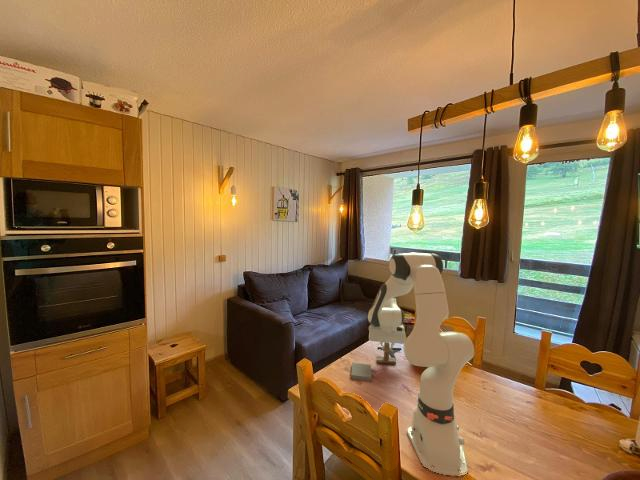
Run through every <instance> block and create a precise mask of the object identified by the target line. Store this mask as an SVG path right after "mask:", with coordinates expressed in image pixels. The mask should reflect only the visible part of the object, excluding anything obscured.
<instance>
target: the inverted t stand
mask: <svg viewBox="0 0 640 480" xmlns="http://www.w3.org/2000/svg"><path fill="white" fill-rule="evenodd" d="M383 345H384V346H385V350H384V351H383V356H379V355H378V356H376V362H377V363H379V364H389V365H397V361H396V360H397V359H396V360H395V358H396V357H395V358H392V356H390V354H389V346H390V343H387V342H383Z"/></svg>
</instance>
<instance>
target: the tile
mask: <svg viewBox="0 0 640 480" xmlns="http://www.w3.org/2000/svg"><path fill="white" fill-rule="evenodd" d="M351 364H352V365H351V371H350V373H351V374H350V375H351V377H350V379H351V380H360V381H368V382H372V365H371V364H368V363H360V362H352V363H351Z"/></svg>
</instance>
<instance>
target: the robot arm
mask: <svg viewBox="0 0 640 480" xmlns="http://www.w3.org/2000/svg"><path fill="white" fill-rule="evenodd" d="M388 262H389V263H388V268H389V273H390V277H389V278H388V280H386V282H385V283H383V284H382V285H380V287H379V289H378V291H377V294H376V296H375V298H374V301H373V303H372V305H371V307H370V309H369V310H368V315H367V320H368V323H369V324H370V325H369V326H368V331H369V333H368V340H369V341H370V342H375V343H379V344H380V347H382V349H383V350H385V346H384V342H387V343H389V344H391V345H389V350H392V348H394V346H395V344H399V345H403V347H402V348H403V349H402V350H403V354H404V357H405V358H406V360H407V361H408V362H409V363H410V364H411V365H412V366H417V367H423V368H424V367H425V368H426V369H425V370H424V371H423V372H422V373H421V375H420V379H419V393H418V396H417V407H416V408H415V409H414V410H413V411H412V417H411V418H412V419H411V426H410V427H408V428H407V429H406V434H407V435H408V439H409V441H410V443H411V444H412V447H413V448H414V449H413V450H414V451H415V453H416V455H417V457H418V459H419V461H420V463H422V464H423V465H422V464H421V465H422V467H423V466H424V467H426V468H428V469H430V470H431V471H430V470H429V471H430V472H432V471H433V472H432V473H434V472H436V473H435V474H437V473H439V474H438V475H441V474H443V475H442V476H446V475H460V474H462V473H464V472H465V473H466V472H468V473H469V469H468V464H467V460H466V455H465V450H464V446H465V445H464V444H465V441H464V437H462V436H460V435H459V433H458V431H460V426H459V425H458V424H457V423H456V416H455V407H454V403H453V402H454V391H455V390H454V389H455V384H456V381H457V379H458V376H459V374H460V372H461V371H462V370H463V368H464V366H465V365H466V364H467V363H468V362H469V361H471V360H472V359H473V357H474V356H475V347H474V344H473V342H472V340H471V338H470V337H469V336H468V335H467V334H465V333H464V332H457V331H440V327H441V325H442V323H443V322H444V321H445V320H446V319H448V318H449V315H450V311H449V304H448V298H447V293H446V292H447V291H446V287H445V284H444V280H443V277H442V273H443V271H444V263H443V259H442V258H441V257H440V255H439V254H436V253H431V252H428V253H425V252H408V253H407V252H405V253H401V252H400V253H397V254H394V255H393V254H392V255H391V257H390V259H389V261H388ZM412 289H413V293H414V299H415V310H416V318H415V324H414V327H413V329H412V330H411V332H410V334H409V335H408V336H407V334H406V331H405V326H404V323H405V319H406V318H405V317H406V316H405V314H406V313H405V312H404V310H402V309H401V308H400V307H399V306H398V304H397V302H398V301H397V298H396V297H402V296H404V295H407V294H409V293H411V291H412ZM392 351H393V350H392ZM432 467H433V468H432ZM426 468H425V469H426ZM428 469H427V470H428ZM459 471H460V472H459Z"/></svg>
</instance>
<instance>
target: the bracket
mask: <svg viewBox="0 0 640 480" xmlns="http://www.w3.org/2000/svg"><path fill="white" fill-rule="evenodd" d="M377 349H378V350H379V349H381V350H380V351H382V350H383V349H382V346H377ZM400 350H401V351H402V350H403V349H402V347H392V350H389V356H390V357H391V358H395V360H397V359H396V358H397V357H396V356H395V353H397V352H401V351H400ZM383 352H384V350H383Z"/></svg>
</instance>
